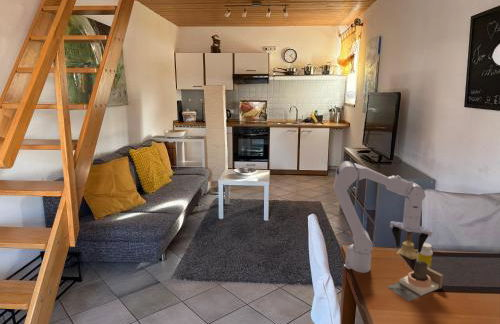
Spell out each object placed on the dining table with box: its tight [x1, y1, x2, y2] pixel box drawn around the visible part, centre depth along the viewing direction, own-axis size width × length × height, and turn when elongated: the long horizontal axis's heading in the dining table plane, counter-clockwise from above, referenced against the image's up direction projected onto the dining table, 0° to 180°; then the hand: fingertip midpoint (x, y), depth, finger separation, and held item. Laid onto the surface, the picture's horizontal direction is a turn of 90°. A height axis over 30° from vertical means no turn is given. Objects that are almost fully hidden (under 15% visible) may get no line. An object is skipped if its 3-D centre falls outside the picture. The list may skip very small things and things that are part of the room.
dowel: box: [413, 260, 427, 281], centre depth 121 cm, size 4×4×7 cm
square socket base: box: [398, 270, 439, 296], centre depth 121 cm, size 9×9×4 cm
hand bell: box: [396, 231, 417, 260], centre depth 144 cm, size 8×8×16 cm
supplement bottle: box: [416, 242, 434, 269], centre depth 135 cm, size 5×5×10 cm
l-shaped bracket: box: [386, 267, 444, 302], centre depth 120 cm, size 10×17×6 cm, turn 117°
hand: (408, 248), depth 129 cm, fingers open, 7 cm apart
